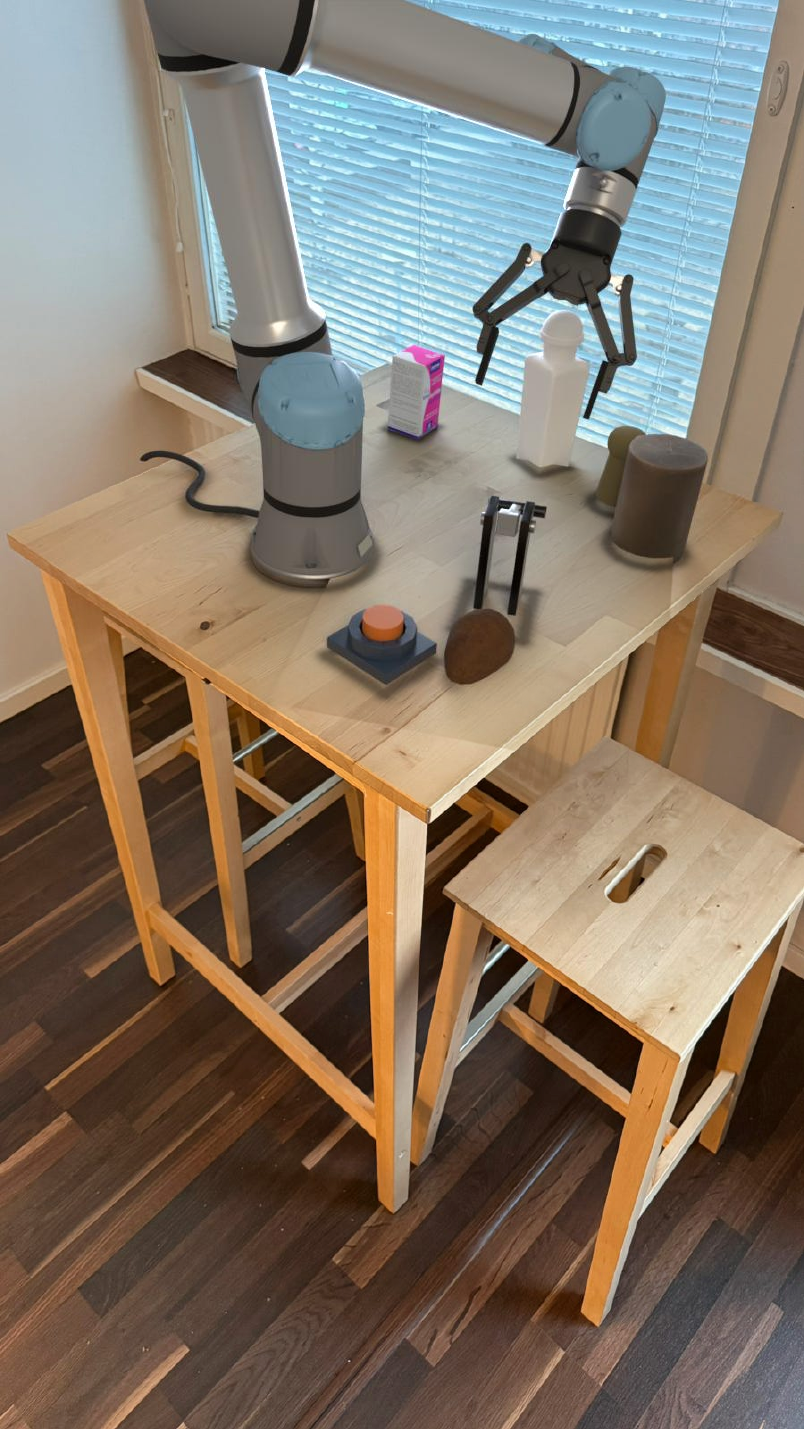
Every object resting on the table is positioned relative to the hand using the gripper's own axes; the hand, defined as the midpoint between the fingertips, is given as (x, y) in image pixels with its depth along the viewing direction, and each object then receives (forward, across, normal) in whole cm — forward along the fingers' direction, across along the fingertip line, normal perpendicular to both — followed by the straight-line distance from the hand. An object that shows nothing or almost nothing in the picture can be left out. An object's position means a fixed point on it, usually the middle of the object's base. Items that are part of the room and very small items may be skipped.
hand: (532, 400), depth 123 cm
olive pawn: (+8, +14, +18) cm, 24 cm away
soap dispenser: (+4, +3, +26) cm, 27 cm away
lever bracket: (+25, +4, -6) cm, 26 cm away
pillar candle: (+12, +20, +10) cm, 25 cm away
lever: (+15, +3, -7) cm, 17 cm away
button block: (+33, -6, -17) cm, 38 cm away
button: (+30, -7, -19) cm, 36 cm away
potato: (+31, +4, -16) cm, 35 cm away
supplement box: (+5, -17, +31) cm, 36 cm away
